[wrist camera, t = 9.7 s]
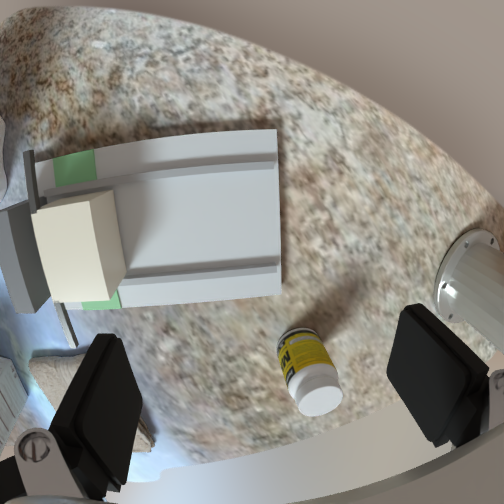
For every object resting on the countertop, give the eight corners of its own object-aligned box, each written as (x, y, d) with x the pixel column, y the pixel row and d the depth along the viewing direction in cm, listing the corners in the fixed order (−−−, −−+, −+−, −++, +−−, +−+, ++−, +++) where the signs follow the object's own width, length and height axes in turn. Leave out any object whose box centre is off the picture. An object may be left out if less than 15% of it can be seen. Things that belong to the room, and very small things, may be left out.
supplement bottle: (273, 331, 29) (292, 390, 21) (318, 321, 30) (349, 375, 22) (277, 366, 31) (295, 424, 23) (319, 356, 31) (345, 411, 23)
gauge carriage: (108, 137, 20) (82, 135, 15) (137, 315, 25) (124, 348, 21) (55, 149, 19) (22, 152, 15) (89, 317, 25) (70, 348, 20)
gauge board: (273, 130, 23) (297, 123, 16) (278, 288, 28) (298, 332, 21) (30, 165, 21) (-18, 175, 14) (60, 304, 25) (29, 344, 19)
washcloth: (92, 441, 34) (88, 456, 31) (29, 352, 28) (19, 367, 25) (161, 441, 34) (159, 458, 32) (104, 345, 28) (96, 363, 25)
